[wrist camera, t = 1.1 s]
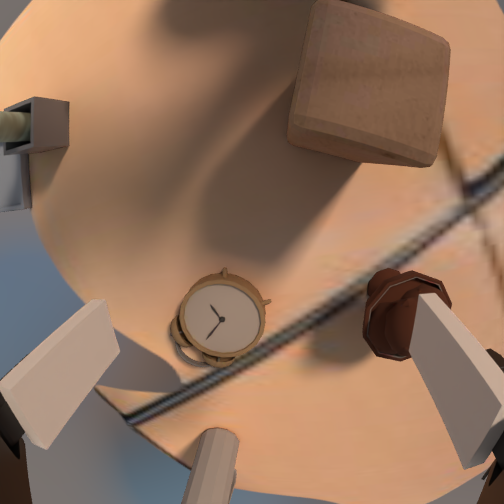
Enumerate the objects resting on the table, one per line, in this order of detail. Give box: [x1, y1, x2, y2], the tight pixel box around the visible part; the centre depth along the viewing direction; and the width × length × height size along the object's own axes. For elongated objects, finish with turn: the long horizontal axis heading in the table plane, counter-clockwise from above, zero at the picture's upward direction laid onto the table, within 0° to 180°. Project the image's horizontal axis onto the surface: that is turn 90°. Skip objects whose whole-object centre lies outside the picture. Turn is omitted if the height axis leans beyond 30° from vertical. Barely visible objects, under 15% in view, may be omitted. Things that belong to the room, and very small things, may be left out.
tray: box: [0, 142, 32, 212], centre depth 40 cm, size 13×14×2 cm
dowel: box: [0, 111, 31, 142], centre depth 30 cm, size 4×4×15 cm
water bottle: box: [181, 428, 239, 504], centre depth 40 cm, size 9×8×25 cm
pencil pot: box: [3, 97, 69, 156], centre depth 34 cm, size 7×7×8 cm
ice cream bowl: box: [363, 268, 452, 361], centre depth 33 cm, size 11×11×15 cm
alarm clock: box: [170, 267, 271, 368], centre depth 42 cm, size 11×5×15 cm
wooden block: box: [287, 0, 451, 168], centre depth 25 cm, size 10×10×20 cm
